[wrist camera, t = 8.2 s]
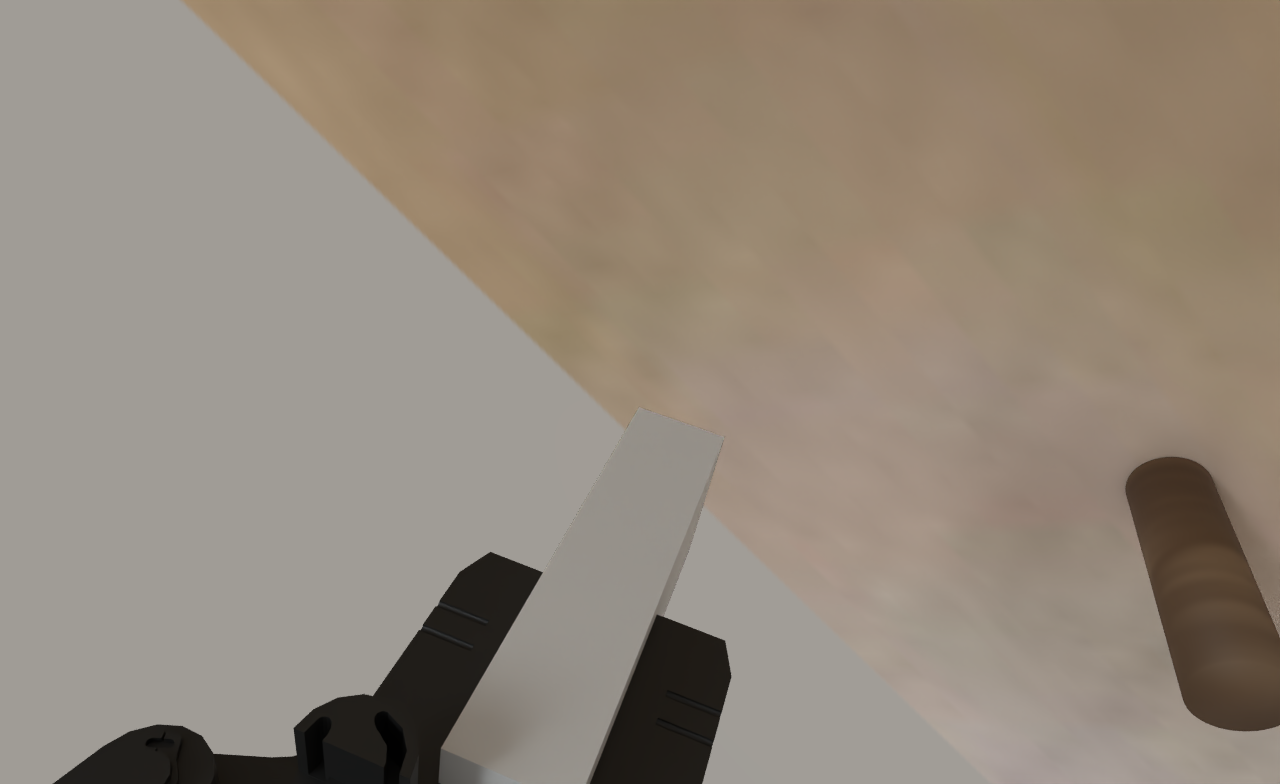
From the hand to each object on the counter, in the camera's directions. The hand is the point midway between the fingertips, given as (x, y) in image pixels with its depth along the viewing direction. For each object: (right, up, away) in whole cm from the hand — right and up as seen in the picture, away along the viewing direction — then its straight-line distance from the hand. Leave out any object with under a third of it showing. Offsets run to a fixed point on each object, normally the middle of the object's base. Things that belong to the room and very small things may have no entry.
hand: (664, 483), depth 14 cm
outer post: (+18, -2, +14) cm, 23 cm away
